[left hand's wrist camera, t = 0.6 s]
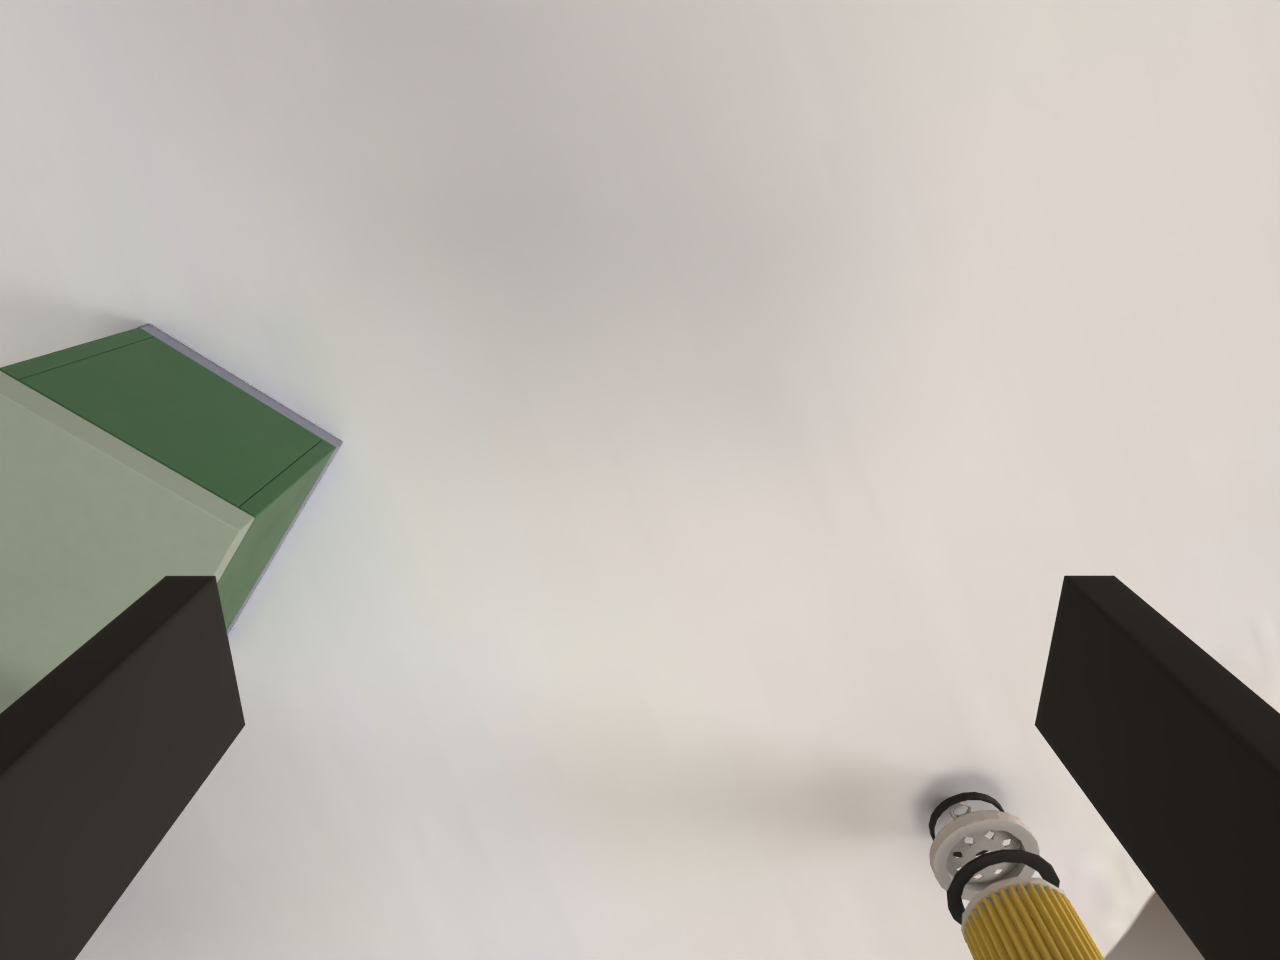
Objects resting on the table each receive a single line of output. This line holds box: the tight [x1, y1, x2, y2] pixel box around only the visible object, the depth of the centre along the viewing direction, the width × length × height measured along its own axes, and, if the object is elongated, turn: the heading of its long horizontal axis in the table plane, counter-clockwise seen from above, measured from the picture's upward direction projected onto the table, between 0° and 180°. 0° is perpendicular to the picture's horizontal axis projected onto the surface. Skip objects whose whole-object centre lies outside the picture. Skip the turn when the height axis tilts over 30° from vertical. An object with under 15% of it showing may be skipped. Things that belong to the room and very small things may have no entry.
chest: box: [0, 324, 342, 635], centre depth 36 cm, size 14×10×9 cm
